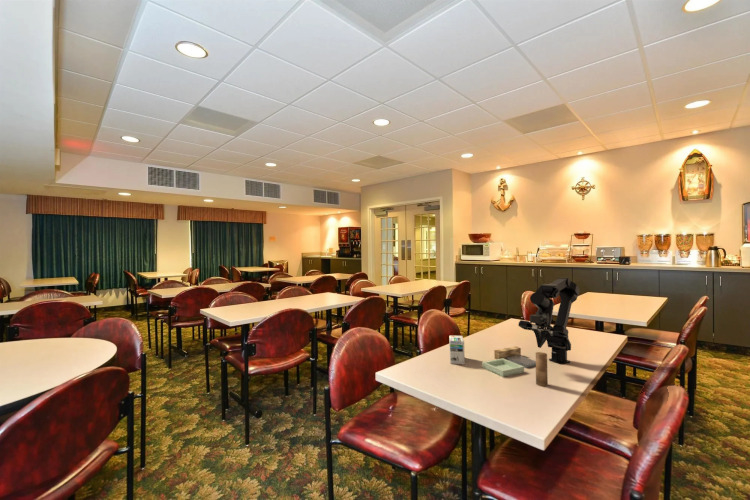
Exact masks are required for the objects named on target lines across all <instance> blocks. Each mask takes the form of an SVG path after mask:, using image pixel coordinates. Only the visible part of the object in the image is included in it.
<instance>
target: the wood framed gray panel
mask: <svg viewBox="0 0 750 500" xmlns="http://www.w3.org/2000/svg"><path fill="white" fill-rule="evenodd" d="M505 359H506V360H508V361H511V362H513V363H516V364H519V365H521V366H524V369H529V368H533V367H536V360H534V359H531V358H528V357H525V356H522V355H521V356H520V355H513V356H508V357H505Z"/></svg>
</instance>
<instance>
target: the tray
mask: <svg viewBox="0 0 750 500" xmlns="http://www.w3.org/2000/svg"><path fill="white" fill-rule="evenodd" d="M482 369H484V370H487V371H488V372H491V373H493V374H495V375H497V376H499V377H502V378H505V377H510V376H514V375H518V374H523V373H525V368H524V366H521V365H519V364H516V363H513V362H511V361H508V360H506V359H503V358H502V359H491V360H488V361H483V362H482Z"/></svg>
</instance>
